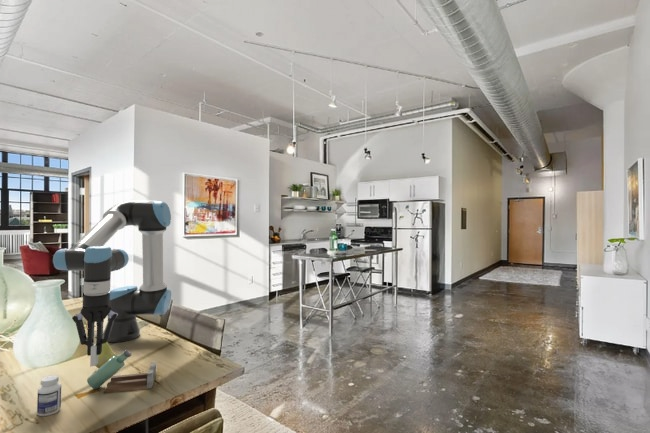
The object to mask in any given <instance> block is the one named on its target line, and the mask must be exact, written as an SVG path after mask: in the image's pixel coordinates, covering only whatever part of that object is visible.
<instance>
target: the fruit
mask: <svg viewBox="0 0 650 433" xmlns="http://www.w3.org/2000/svg"><path fill="white" fill-rule="evenodd" d="M96 337H97V336H94V339H96ZM114 355H117V354H116V353H115V352H114V351H113V350H112V347H111V345H110V344H109V342H106V343H103V344H102V352H101V354H100V355H98V363H97V365H96V366H95V367H96V368H98V369H99V368H100V367H101V366H103V365H104V364H105V363H106V362H107V361H108V360H109V359H111V358H112V357H113V356H114Z"/></svg>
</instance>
